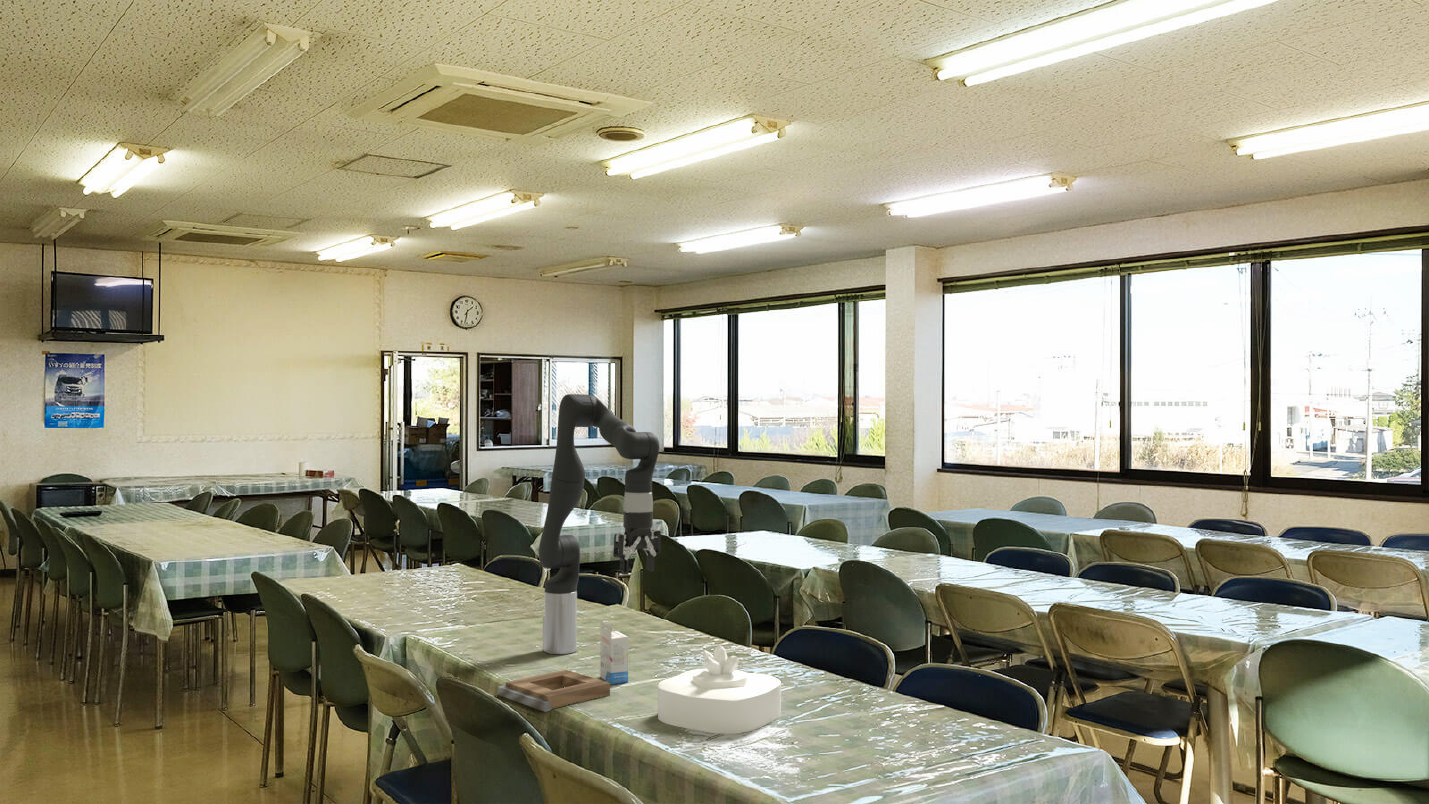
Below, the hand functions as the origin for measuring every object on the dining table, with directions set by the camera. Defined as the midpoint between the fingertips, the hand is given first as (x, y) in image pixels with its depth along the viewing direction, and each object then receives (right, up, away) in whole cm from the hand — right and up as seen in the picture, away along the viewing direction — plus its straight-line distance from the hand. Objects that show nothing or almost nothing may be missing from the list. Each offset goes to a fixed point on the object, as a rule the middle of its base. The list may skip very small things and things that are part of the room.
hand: (637, 572), depth 268 cm
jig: (-18, -27, -15) cm, 36 cm away
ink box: (-6, -28, 0) cm, 28 cm away
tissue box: (+21, -28, -31) cm, 47 cm away
